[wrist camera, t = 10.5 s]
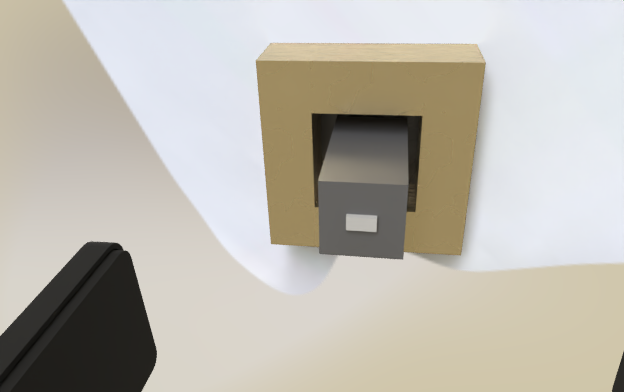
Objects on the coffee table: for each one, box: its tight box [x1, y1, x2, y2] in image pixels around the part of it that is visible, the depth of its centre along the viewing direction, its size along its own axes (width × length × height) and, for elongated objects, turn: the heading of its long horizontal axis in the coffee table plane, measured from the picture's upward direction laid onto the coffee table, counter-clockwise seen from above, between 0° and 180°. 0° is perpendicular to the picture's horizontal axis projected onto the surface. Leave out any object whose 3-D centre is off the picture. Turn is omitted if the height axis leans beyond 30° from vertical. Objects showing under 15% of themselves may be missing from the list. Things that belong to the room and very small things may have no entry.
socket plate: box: [256, 43, 486, 255], centre depth 30 cm, size 11×11×4 cm
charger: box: [318, 116, 409, 259], centre depth 28 cm, size 4×4×8 cm
